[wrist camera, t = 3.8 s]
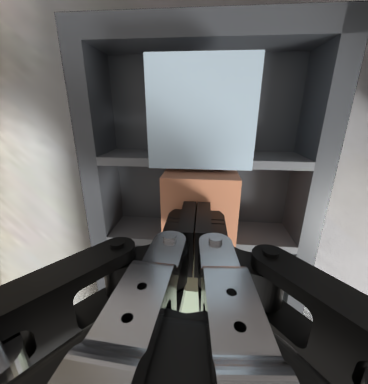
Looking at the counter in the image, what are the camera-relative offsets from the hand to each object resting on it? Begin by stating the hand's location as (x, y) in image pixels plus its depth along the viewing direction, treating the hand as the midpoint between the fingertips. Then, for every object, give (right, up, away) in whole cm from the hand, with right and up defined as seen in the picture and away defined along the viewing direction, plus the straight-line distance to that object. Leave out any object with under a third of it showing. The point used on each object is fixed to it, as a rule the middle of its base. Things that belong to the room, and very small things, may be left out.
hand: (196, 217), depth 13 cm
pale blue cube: (0, +6, -1) cm, 6 cm away
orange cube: (+1, +1, +3) cm, 4 cm away
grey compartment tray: (+1, -1, +5) cm, 6 cm away
